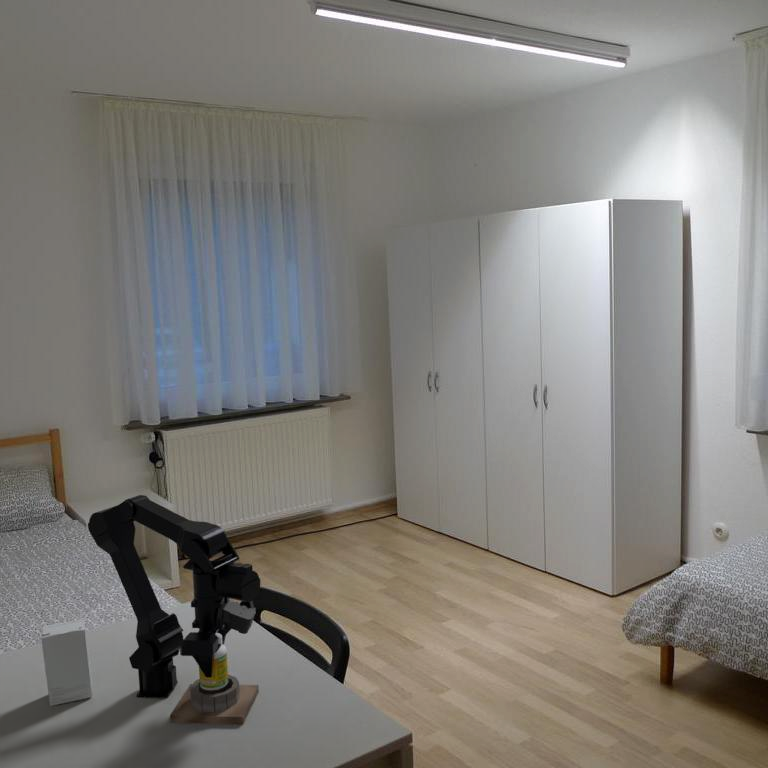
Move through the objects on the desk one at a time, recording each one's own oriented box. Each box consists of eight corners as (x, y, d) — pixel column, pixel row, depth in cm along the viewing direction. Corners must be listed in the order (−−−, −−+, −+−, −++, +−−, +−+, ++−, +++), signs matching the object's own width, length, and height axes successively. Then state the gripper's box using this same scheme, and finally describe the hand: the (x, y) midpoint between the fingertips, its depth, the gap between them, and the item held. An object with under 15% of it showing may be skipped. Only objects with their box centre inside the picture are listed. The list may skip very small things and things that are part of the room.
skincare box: (92, 685, 168) (86, 617, 166) (92, 699, 162) (86, 628, 160) (48, 693, 165) (42, 624, 163) (47, 707, 159) (40, 636, 157)
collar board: (170, 722, 152) (168, 700, 152) (190, 690, 164) (189, 669, 164) (243, 724, 151) (241, 701, 151) (258, 692, 163) (257, 670, 162)
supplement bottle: (221, 692, 154) (219, 643, 153) (195, 690, 155) (192, 642, 154) (232, 678, 159) (230, 631, 158) (206, 676, 160) (204, 629, 159)
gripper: (237, 613, 145) (241, 695, 147) (262, 575, 163) (265, 648, 165) (176, 612, 146) (181, 693, 148) (208, 574, 164) (212, 647, 166)
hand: (213, 669), depth 157 cm, fingers closed on supplement bottle, 5 cm apart
